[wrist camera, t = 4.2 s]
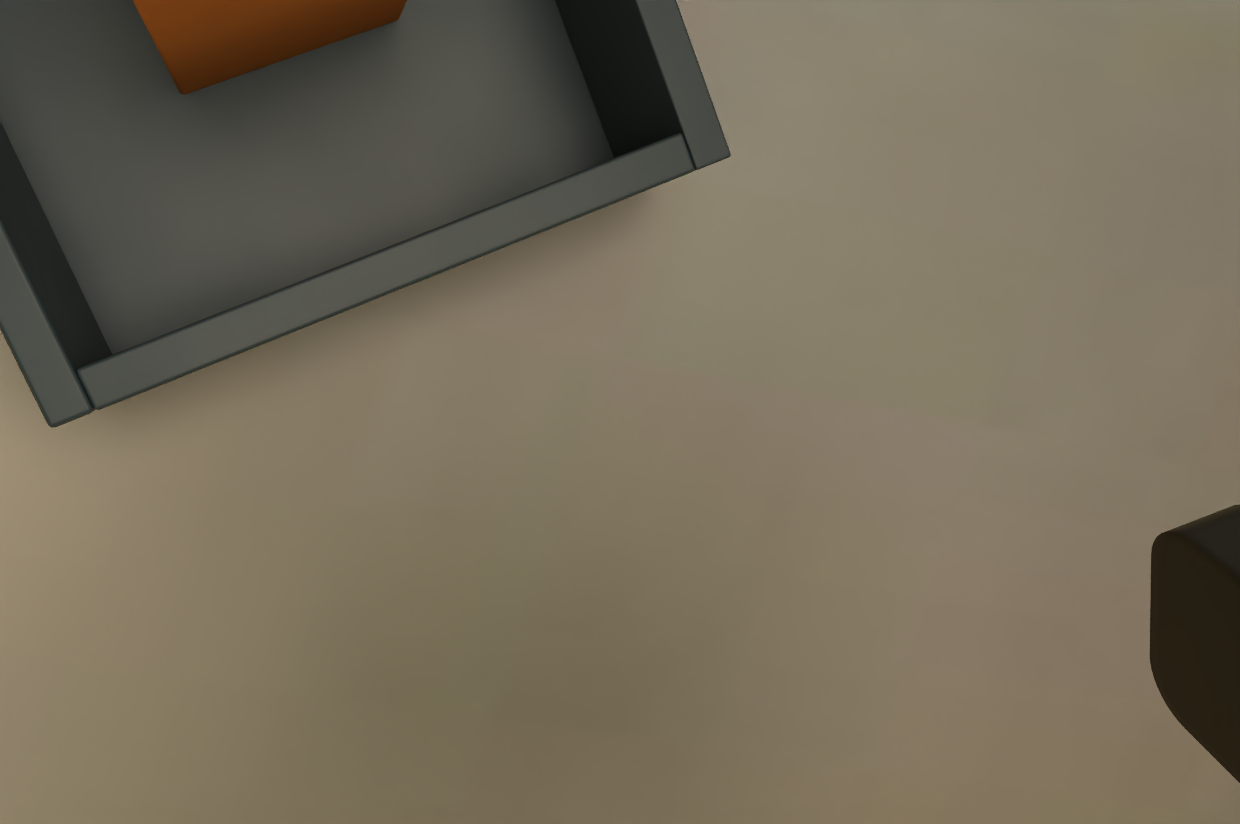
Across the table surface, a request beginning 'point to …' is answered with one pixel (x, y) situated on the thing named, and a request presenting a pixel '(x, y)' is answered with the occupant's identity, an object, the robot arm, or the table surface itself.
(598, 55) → the crate
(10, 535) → the table surface
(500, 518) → the table surface
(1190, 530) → the robot arm
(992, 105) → the table surface
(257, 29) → the toy block
